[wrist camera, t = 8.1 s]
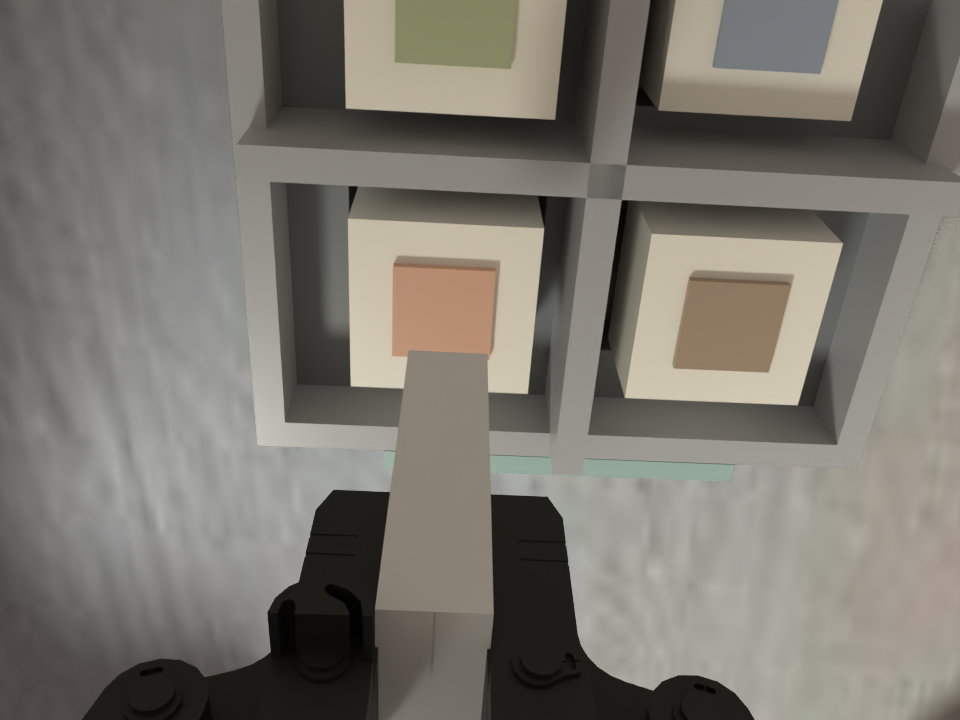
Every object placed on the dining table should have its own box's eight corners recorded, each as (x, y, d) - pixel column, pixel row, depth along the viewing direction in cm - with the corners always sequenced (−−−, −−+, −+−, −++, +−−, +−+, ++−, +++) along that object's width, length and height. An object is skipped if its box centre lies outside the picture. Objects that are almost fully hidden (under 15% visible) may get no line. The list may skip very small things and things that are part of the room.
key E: (607, 338, 26) (625, 402, 23) (629, 188, 23) (653, 237, 20) (762, 345, 26) (799, 409, 23) (798, 196, 24) (846, 246, 21)
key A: (363, 327, 25) (349, 390, 22) (362, 173, 23) (346, 222, 20) (521, 334, 25) (528, 397, 23) (535, 182, 23) (544, 231, 20)
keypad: (287, 382, 29) (249, 494, 24) (247, -284, 20) (174, -327, 15) (800, 404, 30) (868, 517, 25) (979, -231, 21) (1142, -256, 16)
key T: (635, 79, 23) (659, 112, 20) (663, -117, 21) (695, -111, 18) (805, 88, 23) (853, 123, 20) (850, -105, 21) (912, -96, 18)
